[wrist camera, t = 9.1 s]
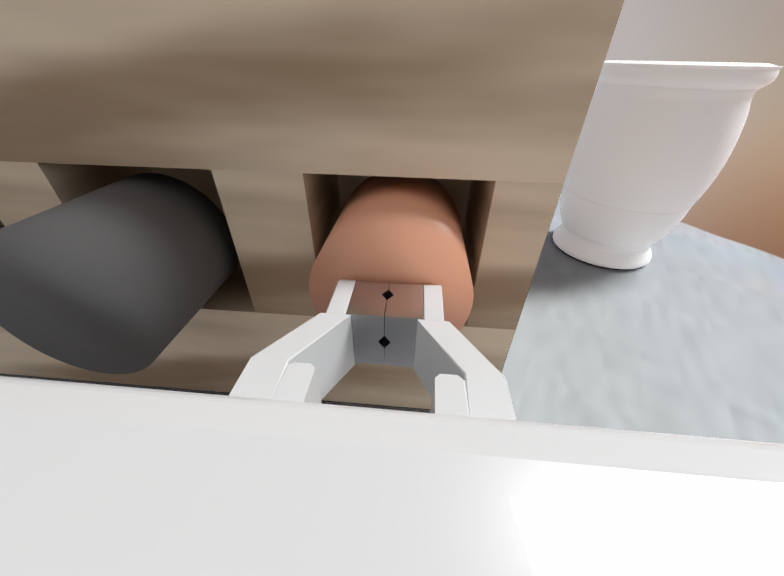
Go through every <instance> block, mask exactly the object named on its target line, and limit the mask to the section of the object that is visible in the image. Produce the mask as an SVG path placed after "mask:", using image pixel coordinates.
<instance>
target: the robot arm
mask: <svg viewBox="0 0 784 576" xmlns="http://www.w3.org/2000/svg"><path fill="white" fill-rule="evenodd" d="M384 361H385V365H394V366H404V367H414V370H415V372H416V374H417V375H418V377H419V378H420V380H421V382H422V383H423V385H424V387H425V388H426V390H427V392H428V393H429V395H430V397H431V398H432V400H431V407H430V413H424V412H412V411H401V410H389V409H378V408H366V407H355V406H343V405H332V404H322V402H321V400H322V399H323V398H324V397H325V396H326V394H327V393H328V392H329V391H330V390H331V389H332V388H333V387H334V386H335V385H336V384H337V383H338V382H339V381H340V380H341V379H342V378H343V377H344V375H345V374H346V373H347V372H348V371H349V370H350V369H351V368H352V367H353V366H354V365H355V363H366V364H384ZM0 576H784V444H782V443H770V442H759V441H747V440H736V439H724V438H713V437H701V436H690V435H678V434H666V433H655V432H643V431H632V430H620V429H609V428H597V427H586V426H574V425H562V424H551V423H539V422H528V421H516V417H515V413H514V409H513V404H512V400H511V396H510V392H509V388H508V384H507V380H506V378H505V377H504V376H503V375H502V374H501V373H500V372H499V371H498V370H497V369H496V368H495V367H494V366H493V365H492V364H491V363H490V362H489V361H488V360H487V359H486V358H485V357H484V356H483V355H482V354H481V353H480V352H479V351H478V350H477V349H476V348H475V347H474V346H473V345H472V344H471V343H470V342H469V341H468V340H467V339H466V338H465V337H464V336H463V335H462V334H461V333H460V332H459V331H458V330H457V329H456V328H455V327H454V326H453V325H452V324H451V323H450V322H449V321H444V311H443V297H442V286H441V285H416V284H395V283H386V282H374V281H361V280H347V279H340V280H339V281H338V283H337V286H336V288H335V291H334V293H333V296H332V298H331V301H330V303H329V306H328V308H327V311H326V313H320V314H318V315H316V316H315V317H313V318H312V319H310V320H309V321H307V322H305V323H304V324H302V325H301V326H299V327H298V328H296V329H295V330H293V331H291V332H290V333H288V334H287V335H285V336H284V337H282V338H280V339H279V340H277V341H276V342H274V343H273V344H271V345H270V346H268V347H266V348H265V349H263V350H262V351H260V352H259V353H257V354H255V355H254V356H252V357H251V358H250V360H249V362H248V363H247V365H246V367H245V368H244V370H243V372H242V374H241V375H240V377H239V379H238V380H237V382H236V384H235V385H234V387H233V389H232V391H231V392H230V394H229V396H227V395H215V394H203V393H192V392H181V391H169V390H158V389H146V388H134V387H123V386H111V385H100V384H88V383H77V382H65V381H54V380H42V379H30V378H19V377H7V376H0Z"/></svg>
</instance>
